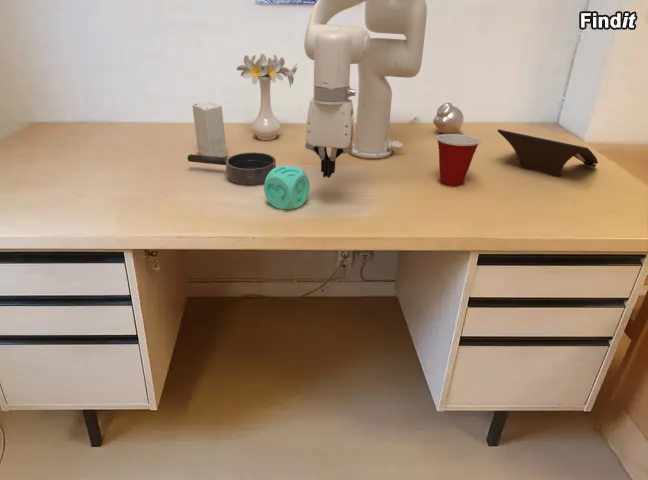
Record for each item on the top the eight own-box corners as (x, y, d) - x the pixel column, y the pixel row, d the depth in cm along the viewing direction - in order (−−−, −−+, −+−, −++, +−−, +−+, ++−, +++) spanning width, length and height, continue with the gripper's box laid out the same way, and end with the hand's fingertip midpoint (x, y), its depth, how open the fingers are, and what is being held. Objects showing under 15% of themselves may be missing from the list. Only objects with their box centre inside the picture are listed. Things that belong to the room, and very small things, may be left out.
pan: (281, 170, 153) (281, 154, 151) (267, 188, 142) (266, 171, 140) (237, 165, 156) (236, 150, 154) (219, 183, 145) (218, 166, 143)
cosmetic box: (227, 157, 162) (224, 106, 155) (209, 161, 160) (204, 109, 152) (214, 149, 168) (210, 100, 161) (196, 153, 166) (191, 103, 158)
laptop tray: (592, 190, 154) (606, 158, 152) (576, 176, 136) (591, 139, 134) (512, 170, 167) (523, 140, 166) (487, 155, 149) (500, 121, 147)
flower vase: (298, 142, 173) (298, 58, 160) (239, 143, 173) (235, 59, 160) (295, 130, 184) (296, 50, 171) (240, 131, 184) (236, 51, 171)
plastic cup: (474, 177, 148) (482, 132, 141) (471, 192, 139) (480, 146, 133) (432, 172, 151) (438, 129, 144) (428, 187, 142) (434, 141, 136)
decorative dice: (283, 193, 139) (283, 163, 135) (309, 201, 135) (310, 170, 131) (263, 204, 134) (263, 173, 129) (290, 212, 130) (290, 180, 125)
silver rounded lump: (430, 129, 184) (434, 98, 179) (459, 130, 183) (464, 99, 178) (432, 137, 177) (436, 105, 171) (463, 138, 175) (468, 106, 170)
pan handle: (230, 164, 150) (229, 156, 149) (227, 166, 149) (226, 159, 148) (189, 160, 153) (188, 153, 152) (186, 162, 151) (185, 155, 150)
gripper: (368, 92, 119) (362, 173, 129) (301, 87, 123) (300, 167, 132) (362, 100, 113) (357, 184, 122) (292, 95, 117) (292, 177, 126)
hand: (327, 175), depth 127 cm, fingers closed
